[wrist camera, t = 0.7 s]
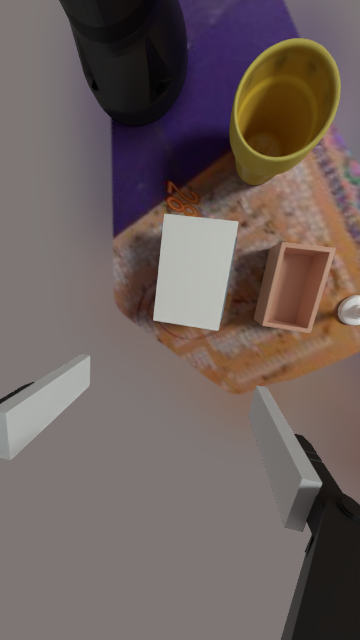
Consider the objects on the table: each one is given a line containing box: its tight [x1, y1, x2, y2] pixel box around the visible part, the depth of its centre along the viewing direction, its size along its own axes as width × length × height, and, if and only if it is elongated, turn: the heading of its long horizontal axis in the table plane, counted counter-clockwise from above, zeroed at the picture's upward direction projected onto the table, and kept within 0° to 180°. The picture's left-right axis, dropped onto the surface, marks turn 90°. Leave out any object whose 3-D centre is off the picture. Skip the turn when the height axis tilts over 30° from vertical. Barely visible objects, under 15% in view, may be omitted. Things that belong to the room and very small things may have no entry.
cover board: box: [153, 214, 239, 331], centre depth 27 cm, size 15×10×2 cm, turn 172°
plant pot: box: [229, 38, 341, 185], centre depth 24 cm, size 10×10×10 cm
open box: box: [254, 242, 336, 333], centre depth 29 cm, size 12×7×5 cm, turn 172°
